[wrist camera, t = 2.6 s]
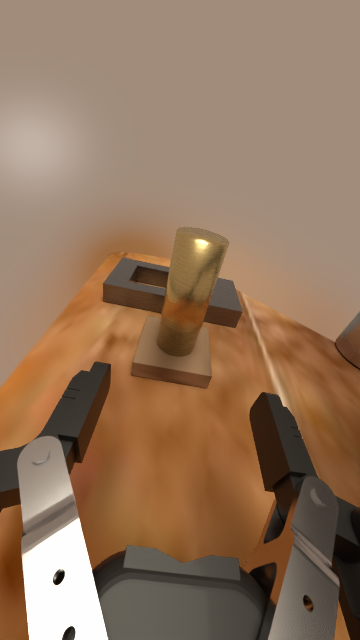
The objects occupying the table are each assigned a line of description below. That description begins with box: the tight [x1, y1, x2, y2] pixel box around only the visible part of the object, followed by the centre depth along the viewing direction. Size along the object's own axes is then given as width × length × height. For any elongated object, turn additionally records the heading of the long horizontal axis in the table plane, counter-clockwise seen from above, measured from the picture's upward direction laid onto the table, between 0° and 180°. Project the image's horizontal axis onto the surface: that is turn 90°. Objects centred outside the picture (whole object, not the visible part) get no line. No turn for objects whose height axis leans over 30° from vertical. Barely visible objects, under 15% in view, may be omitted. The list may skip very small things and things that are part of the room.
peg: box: [157, 227, 229, 357], centre depth 21 cm, size 4×4×12 cm
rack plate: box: [103, 258, 242, 328], centre depth 36 cm, size 20×10×3 cm, turn 86°
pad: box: [132, 316, 212, 388], centre depth 25 cm, size 8×8×2 cm
